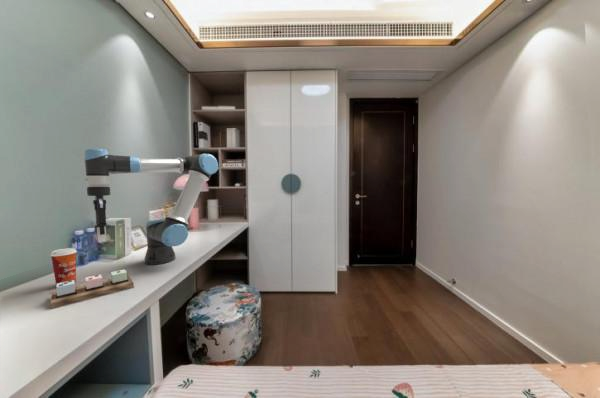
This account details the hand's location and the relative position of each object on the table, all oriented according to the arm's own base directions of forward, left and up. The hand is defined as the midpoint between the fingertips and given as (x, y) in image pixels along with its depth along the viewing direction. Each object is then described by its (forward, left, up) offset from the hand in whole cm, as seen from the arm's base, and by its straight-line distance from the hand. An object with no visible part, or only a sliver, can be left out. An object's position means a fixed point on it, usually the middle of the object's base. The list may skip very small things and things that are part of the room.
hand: (102, 241), depth 104 cm
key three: (+12, +8, -16) cm, 21 cm away
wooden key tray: (+4, +8, -18) cm, 21 cm away
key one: (-4, +8, -16) cm, 18 cm away
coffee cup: (+12, -11, -19) cm, 25 cm away
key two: (+4, +8, -16) cm, 18 cm away
